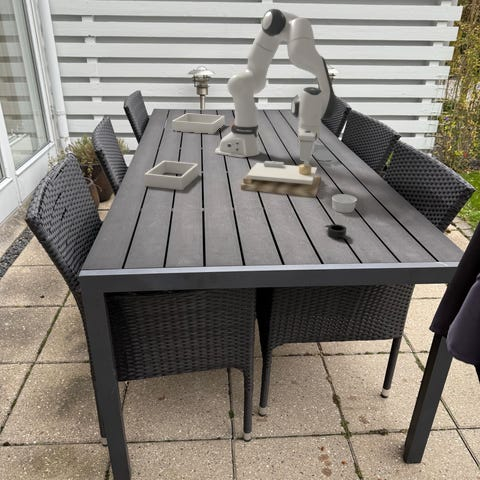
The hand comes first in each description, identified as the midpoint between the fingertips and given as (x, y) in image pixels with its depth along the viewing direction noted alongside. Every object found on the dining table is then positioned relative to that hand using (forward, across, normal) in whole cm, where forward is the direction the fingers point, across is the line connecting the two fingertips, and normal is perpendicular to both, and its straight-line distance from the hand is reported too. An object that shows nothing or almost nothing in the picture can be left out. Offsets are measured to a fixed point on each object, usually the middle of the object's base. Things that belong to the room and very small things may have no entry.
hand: (306, 165), depth 187 cm
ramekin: (+9, +20, +16) cm, 28 cm away
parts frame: (+8, +9, -54) cm, 56 cm away
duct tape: (+10, +44, +16) cm, 48 cm away
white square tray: (+8, -87, -75) cm, 115 cm away
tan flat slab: (+9, 0, -9) cm, 13 cm away
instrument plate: (+5, 0, -9) cm, 10 cm away
